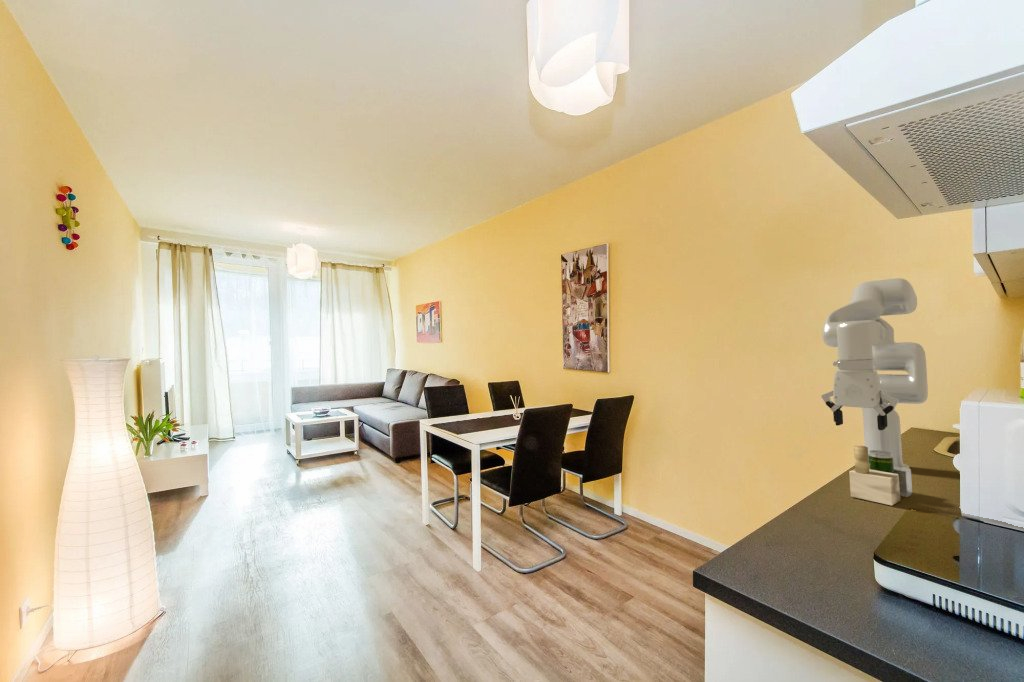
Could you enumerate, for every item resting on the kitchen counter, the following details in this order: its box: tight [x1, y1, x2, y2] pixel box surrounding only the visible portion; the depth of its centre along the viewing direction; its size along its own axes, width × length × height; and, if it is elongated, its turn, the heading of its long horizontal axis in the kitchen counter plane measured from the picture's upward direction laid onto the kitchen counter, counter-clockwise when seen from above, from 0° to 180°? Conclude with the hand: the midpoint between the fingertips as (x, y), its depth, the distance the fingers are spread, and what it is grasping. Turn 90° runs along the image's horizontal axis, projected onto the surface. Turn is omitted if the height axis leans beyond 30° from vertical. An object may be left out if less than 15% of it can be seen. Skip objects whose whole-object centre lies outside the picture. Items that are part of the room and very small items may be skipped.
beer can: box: [868, 450, 894, 473], centre depth 120 cm, size 5×5×12 cm
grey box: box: [894, 466, 913, 498], centre depth 122 cm, size 4×9×7 cm, turn 32°
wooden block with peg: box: [848, 445, 901, 506], centre depth 117 cm, size 6×9×14 cm, turn 32°
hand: (859, 427), depth 118 cm, fingers open, 9 cm apart
